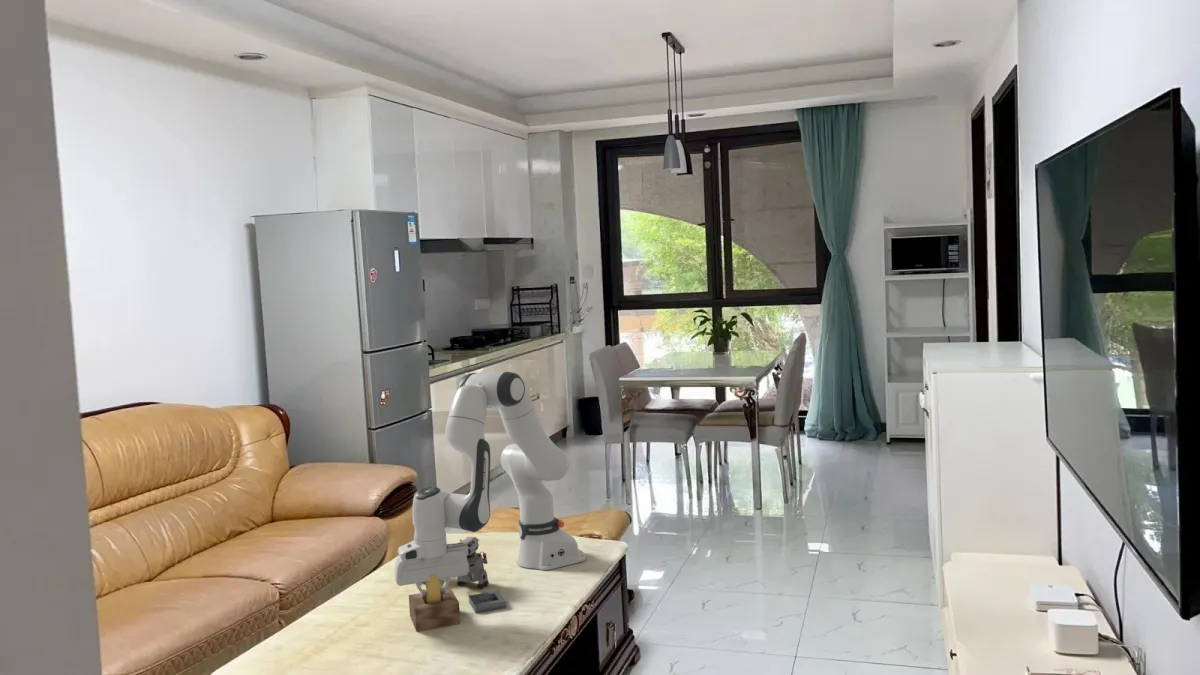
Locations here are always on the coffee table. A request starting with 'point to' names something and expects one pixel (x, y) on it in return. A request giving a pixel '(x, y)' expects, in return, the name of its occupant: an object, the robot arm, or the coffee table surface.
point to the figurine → (474, 564)
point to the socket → (434, 611)
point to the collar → (487, 606)
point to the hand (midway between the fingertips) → (433, 595)
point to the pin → (433, 589)
